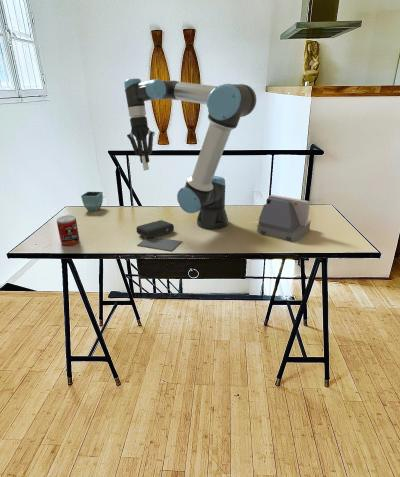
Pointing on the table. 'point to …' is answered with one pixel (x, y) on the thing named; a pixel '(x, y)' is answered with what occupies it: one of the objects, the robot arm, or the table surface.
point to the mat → (160, 243)
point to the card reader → (155, 228)
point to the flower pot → (92, 200)
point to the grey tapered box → (284, 218)
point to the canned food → (68, 230)
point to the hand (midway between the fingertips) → (146, 169)
